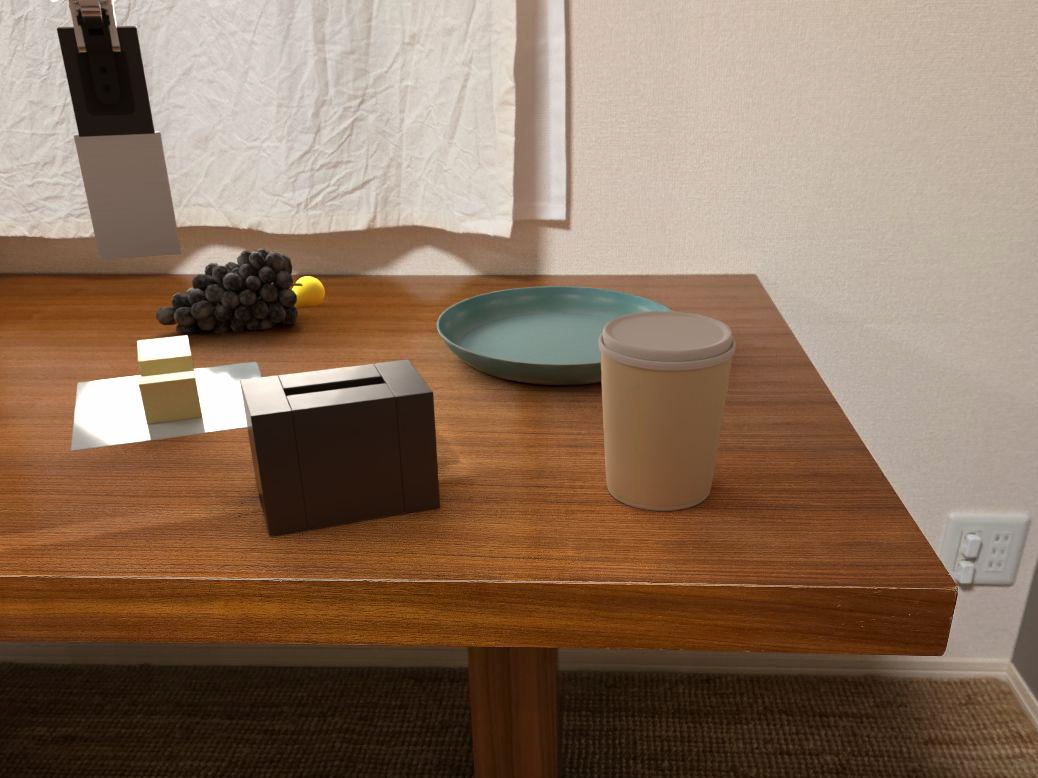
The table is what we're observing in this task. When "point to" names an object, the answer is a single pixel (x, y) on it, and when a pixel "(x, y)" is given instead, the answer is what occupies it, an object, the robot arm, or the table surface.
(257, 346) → the table surface
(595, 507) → the table surface
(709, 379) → the coffee cup
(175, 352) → the butter
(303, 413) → the stand
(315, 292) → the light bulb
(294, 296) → the fruit
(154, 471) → the table surface
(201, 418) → the butter dish
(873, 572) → the table surface
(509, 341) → the teal plate
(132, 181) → the knife
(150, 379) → the tan square block
